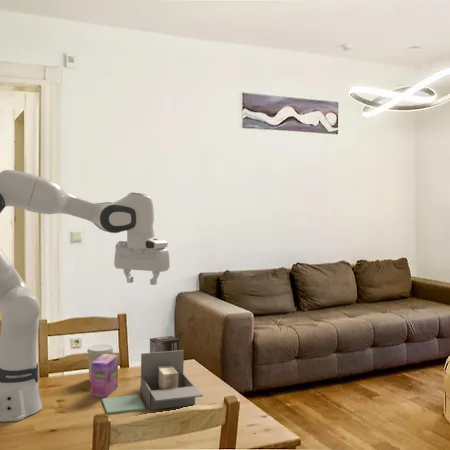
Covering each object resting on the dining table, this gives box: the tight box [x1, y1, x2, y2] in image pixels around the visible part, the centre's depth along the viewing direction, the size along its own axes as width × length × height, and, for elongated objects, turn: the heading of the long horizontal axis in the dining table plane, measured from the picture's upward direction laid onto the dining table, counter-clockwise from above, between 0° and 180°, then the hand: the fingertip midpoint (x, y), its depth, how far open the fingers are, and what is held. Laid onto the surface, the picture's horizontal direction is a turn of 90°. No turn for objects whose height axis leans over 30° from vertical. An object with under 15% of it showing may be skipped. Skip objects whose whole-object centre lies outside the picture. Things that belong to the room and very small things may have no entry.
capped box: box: [157, 365, 178, 390], centre depth 183 cm, size 5×9×10 cm, turn 20°
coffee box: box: [149, 335, 180, 353], centre depth 200 cm, size 9×6×16 cm
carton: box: [140, 349, 203, 411], centre depth 179 cm, size 15×23×14 cm, turn 20°
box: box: [90, 353, 119, 398], centre depth 189 cm, size 10×6×12 cm, turn 168°
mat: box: [101, 394, 146, 415], centre depth 177 cm, size 12×12×1 cm
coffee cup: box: [87, 344, 114, 383], centre depth 201 cm, size 9×9×12 cm
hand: (141, 283), depth 180 cm, fingers open, 8 cm apart
